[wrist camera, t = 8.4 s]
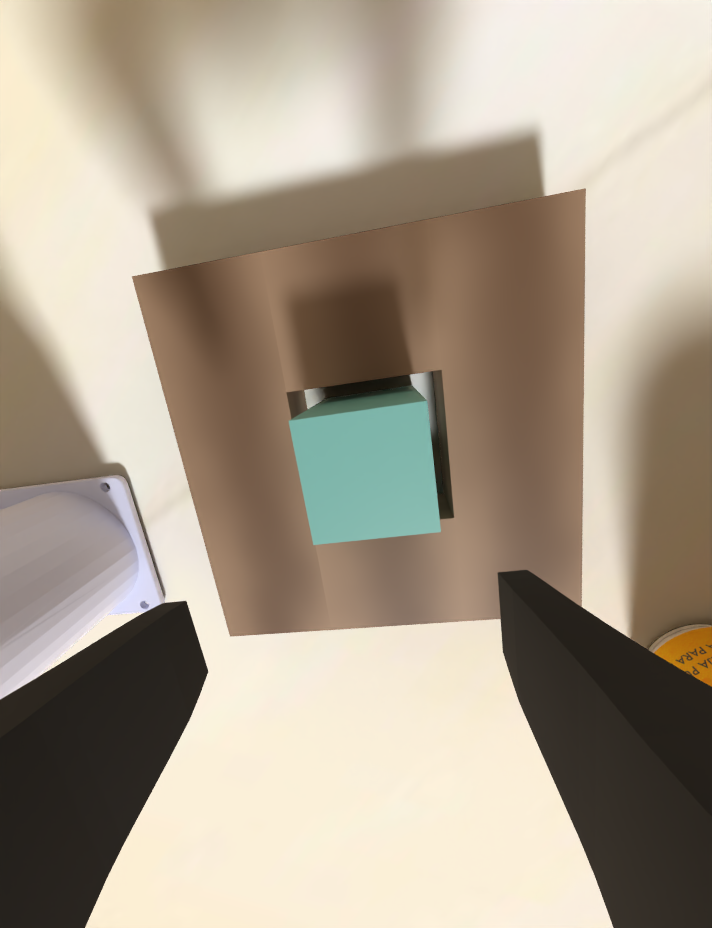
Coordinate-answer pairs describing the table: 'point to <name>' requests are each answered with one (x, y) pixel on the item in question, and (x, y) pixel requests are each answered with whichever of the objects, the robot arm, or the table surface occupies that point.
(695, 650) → the beer can
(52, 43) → the table surface
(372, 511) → the teal peg
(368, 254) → the holder block
